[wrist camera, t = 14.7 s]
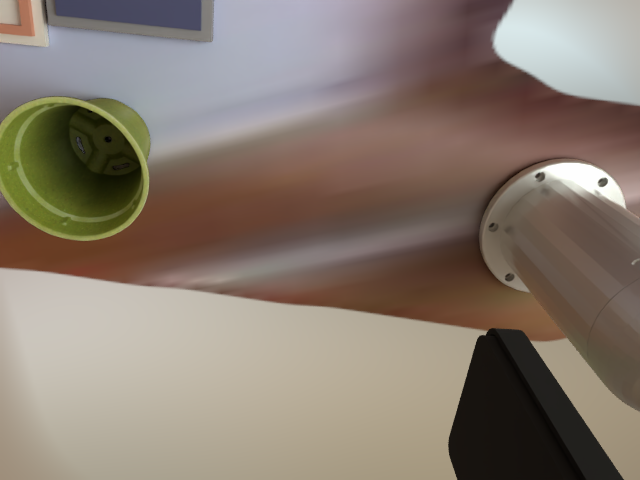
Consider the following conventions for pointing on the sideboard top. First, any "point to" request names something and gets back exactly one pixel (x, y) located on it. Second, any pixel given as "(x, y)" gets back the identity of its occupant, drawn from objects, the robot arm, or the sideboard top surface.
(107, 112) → the plant pot
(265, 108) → the sideboard top surface
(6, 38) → the cream flat square piece
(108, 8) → the ink pad
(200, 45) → the sideboard top surface
